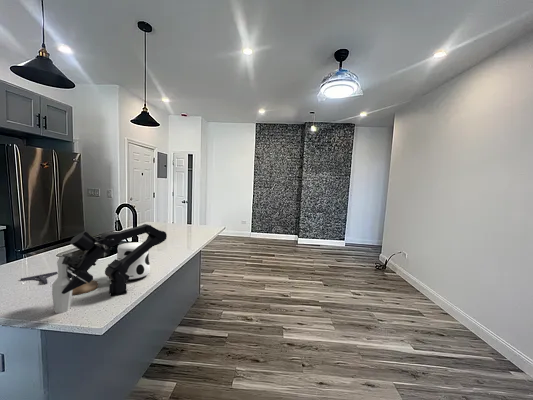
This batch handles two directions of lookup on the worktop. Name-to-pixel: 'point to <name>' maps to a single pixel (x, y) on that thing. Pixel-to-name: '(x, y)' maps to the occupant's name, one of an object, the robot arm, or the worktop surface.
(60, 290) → the low poly bottle
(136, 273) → the milk container
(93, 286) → the walnut board
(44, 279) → the bracket
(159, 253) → the worktop surface
